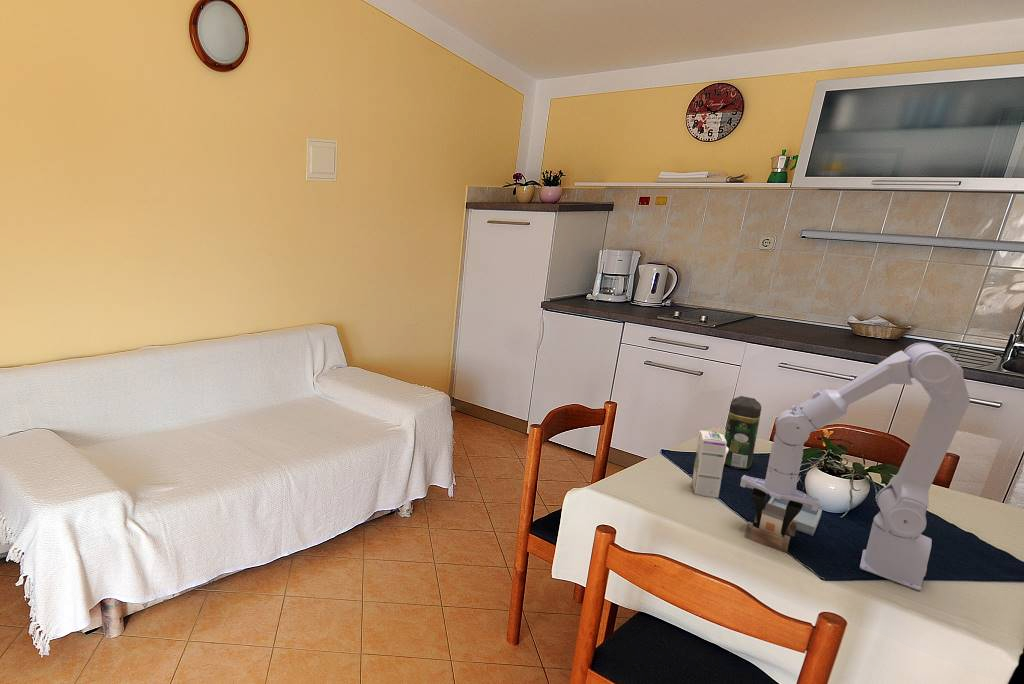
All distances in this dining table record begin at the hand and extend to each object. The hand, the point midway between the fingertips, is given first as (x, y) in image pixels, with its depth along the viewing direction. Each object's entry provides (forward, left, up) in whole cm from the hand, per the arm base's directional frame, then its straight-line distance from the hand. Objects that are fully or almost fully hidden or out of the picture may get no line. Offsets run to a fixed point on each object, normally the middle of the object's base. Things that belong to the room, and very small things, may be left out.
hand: (771, 528), depth 111 cm
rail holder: (0, 0, -2) cm, 2 cm away
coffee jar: (+16, -34, -2) cm, 38 cm away
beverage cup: (+18, -18, -2) cm, 26 cm away
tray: (-2, -12, -2) cm, 12 cm away
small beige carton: (0, 0, -2) cm, 2 cm away
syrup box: (+17, -10, -2) cm, 20 cm away
